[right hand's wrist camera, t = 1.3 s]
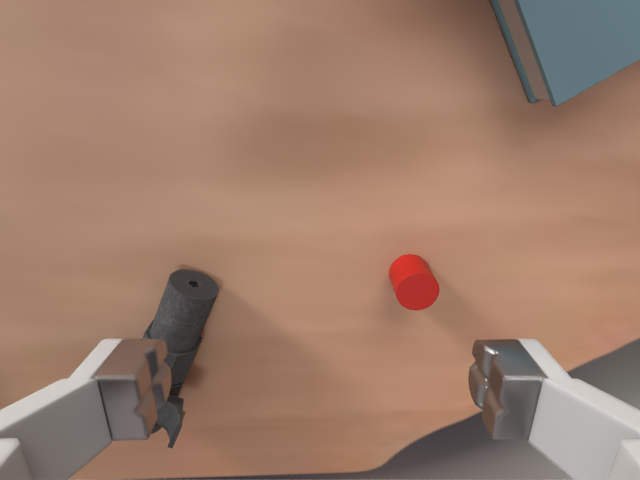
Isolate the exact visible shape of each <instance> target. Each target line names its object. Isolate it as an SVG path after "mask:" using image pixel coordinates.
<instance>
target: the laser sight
mask: <svg viewBox="0 0 640 480" xmlns="http://www.w3.org/2000/svg"><path fill="white" fill-rule="evenodd" d="M218 292H219V288H218V285H217V284H216V282H215V281H214V280H213V279H211V278H210V277H209V276H207V275H205V274H203V273H200V272H197V271H193V270H178V271H175V272H173V273H172V274H171V275H170V277H169V280H168V283H167V286H166V289H165V292H164V294H163V297H162V299H161V302H160V305H159V308H158V311H157V313H156V316H155V319H154V320H153V321H152V323H151V324H150V326H149V327H148V329H147V330H146V332H145V333H144V336H143V339H163V340H164V341H165V342H166V346H167V351H168V354H167V356H166V358H165V359H164V362H165V363H166V364H167V365H168V366H169V367H170V369H171V388H170V393H169V397H168V399H167V401H166V403H165V405H163V406H162V407H161V408H159V409H158V410H157V414H158V419H157V421H156V423H155V425H154V427H153V429H152V432H151V434H153V433H155V432H156V431H158V430H159V429H161V427H163V428H164V429H165V430H167V433H168V436H169V438H170V442H169V444H168V447H169V448H173V445H174V443H175V441H176V439H177V436H178V434H179V432H180V430H181V427H182V419H183V417H184V414H185V412H184V411H183V399H182V398H179V397H178V394H179V392H180V389H181V387H182V385H183V382H184V380H185V378H186V375H187V373H188V371H189V368H190V366H191V363H192V361H193V359H194V356H195V354H196V352H197V349H198V347H199V344H200V342H201V340H202V337H201V335H200V334H201V332H202V330H203V327H204V325H205V322H206V320H207V318H208V316H209V313H210V311H211V308H212V306H213V303H214V301H215V299H216V296H217V294H218Z"/></svg>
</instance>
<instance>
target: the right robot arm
mask: <svg viewBox="0 0 640 480" xmlns="http://www.w3.org/2000/svg"><path fill="white" fill-rule="evenodd" d="M167 354H168V351H167V346H166V342H165V341H164V340H163V339H104V340H102V341H101V342H100V343H99V344H98V345H97V346H96V347H95V349H94V350H93V351H92V352H91V353H90V354H89V355H88V357H87V358H86V359H85V360H84V361H83V362H82V363H81V365H80V366H79V367H78V368H77V369H76V370H75V371H74V373H73V374H72V375H71V376H70V377H69V378H68V379H60V380H58V381H57V382H55V383H53V384H51V385H49V386H47V387H45V388H43V389H41V390H39V391H37V392H35V393H33V394H31V395H29V396H27V397H25V398H23V399H21V400H19V401H17V402H15V403H13V404H11V405H9V406H7V407H5V408H3V409H1V410H0V480H68V479H69V478H70V477H72V476H73V475H74V474H75V473H76V472H78V471H79V470H80V469H81V468H82V467H83V466H85V465H86V464H87V463H88V462H89V461H91V460H92V459H93V458H94V457H95V456H96V455H98V454H99V453H100V452H101V451H102V450H104V449H105V448H106V447H107V446H108V445H110V444H111V443H112V441H116V440H148V438H149V436H150V434H151V432H152V429H153V427H154V425H155V423H156V421H157V419H158V414H157V410H158V409H159V408H161V407H162V406H163V405H165V403H166V401H167V399H168V397H169V393H170V388H171V369H170V367H169V366H168V365H167V364H166V363H165V362H164V359H165V358H166V356H167ZM472 354H473V356H474V358H475V359H476V362H475V363H474V364H473V365H472V366H471V367H470V369H469V377H468V379H469V389H470V393H471V397H472V399H473V401H474V403H475V405H477V406H478V407H479V408H481V409H482V410H483V414H482V419H483V421H484V423H485V425H486V427H487V429H488V431H489V433H490V435H491V437H492V439H493V440H525V441H528V443H530V444H531V445H532V446H533V447H534V448H535V449H537V450H538V451H539V452H540V453H541V454H542V455H544V456H545V457H546V458H547V459H548V460H550V461H551V462H552V463H553V464H554V465H556V466H557V467H558V468H559V469H560V470H561V471H563V472H564V473H565V474H566V475H567V476H569V477H570V478H571V479H572V480H640V410H639V409H637V408H635V407H633V406H631V405H629V404H627V403H625V402H623V401H621V400H619V399H617V398H615V397H613V396H611V395H609V394H607V393H605V392H603V391H601V390H599V389H597V388H595V387H593V386H591V385H589V384H587V383H585V382H583V381H582V380H580V379H572V378H571V377H570V376H569V375H568V374H567V373H566V371H565V370H564V369H563V368H562V367H561V366H560V365H559V363H558V362H557V361H556V360H555V359H554V358H553V357H552V355H551V354H550V353H549V352H548V351H547V350H546V349H545V348H544V346H543V345H542V344H541V343H540V342H539V341H538V340H536V339H534V338H528V339H505V340H476V341H475V343H474V345H473V350H472Z"/></svg>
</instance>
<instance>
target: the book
mask: <svg viewBox="0 0 640 480" xmlns="http://www.w3.org/2000/svg"><path fill="white" fill-rule="evenodd" d="M490 1H491V4H492V7H493V9H494V12H495V14H496V17H497V19H498V22H499V25H500V27H501V30H502V32H503V35H504V38H505V40H506V43H507V45H508V48H509V51H510V53H511V56H512V58H513V61H514V63H515V66H516V69H517V71H518V74H519V76H520V79H521V82H522V84H523V87H524V89H525V92H526V95H527V97H528V100H529V102H530V103H534V102H536V101H538V100H540V99H543V100H551V103H552V106H558V105H560V104H562V103H563V102H565V101H567V100H569V99H571V98H572V97H574V96H576V95H578V94H579V93H581V92H583V91H585V90H586V89H588V88H590V87H592V86H594V85H595V84H597V83H599V82H601V81H602V80H604V79H606V78H608V77H610V76H611V75H613V74H615V73H617V72H618V71H620V70H622V69H624V68H625V67H627V66H629V65H631V64H633V63H634V62H636V61H638V60H640V0H490Z"/></svg>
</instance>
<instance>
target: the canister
mask: <svg viewBox="0 0 640 480" xmlns="http://www.w3.org/2000/svg"><path fill="white" fill-rule="evenodd" d="M389 276H390V280H391V282H392V285H393V288H394V291H395V294H396V296H397V299H398V301H399V303H400V304H401V305H402V306H404V307H405V308H407V309H410V310H421V309H425V308H427V307H429V306H430V305H432V304H433V303H434V302H435V300H436V299H437V297H438V294H439V285H438V283H437V281H436V279H435V277H434V276H433V274H432V272H431V270H430V269H429V267H428V265H427V264H426V262H425V261H424V260H423V259H422V258H421V257H419V256H416V255H405V256H402V257H400V258H398V259H397V260H396V261H394V263H393V264H392V266H391V268H390V271H389Z"/></svg>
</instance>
